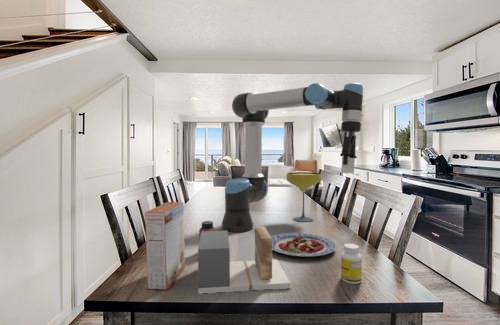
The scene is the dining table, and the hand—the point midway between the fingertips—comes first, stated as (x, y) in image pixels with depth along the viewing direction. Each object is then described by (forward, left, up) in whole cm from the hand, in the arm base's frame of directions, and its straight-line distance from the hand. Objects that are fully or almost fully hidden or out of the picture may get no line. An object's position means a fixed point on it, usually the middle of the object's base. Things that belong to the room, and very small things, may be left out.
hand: (347, 173), depth 112 cm
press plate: (-13, -48, -26) cm, 56 cm away
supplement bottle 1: (-39, -43, -28) cm, 64 cm away
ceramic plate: (-13, -20, -28) cm, 37 cm away
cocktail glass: (-28, +22, -28) cm, 45 cm away
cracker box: (-36, -64, -28) cm, 78 cm away
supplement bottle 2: (+9, -37, -28) cm, 47 cm away
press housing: (-18, -52, -28) cm, 62 cm away
